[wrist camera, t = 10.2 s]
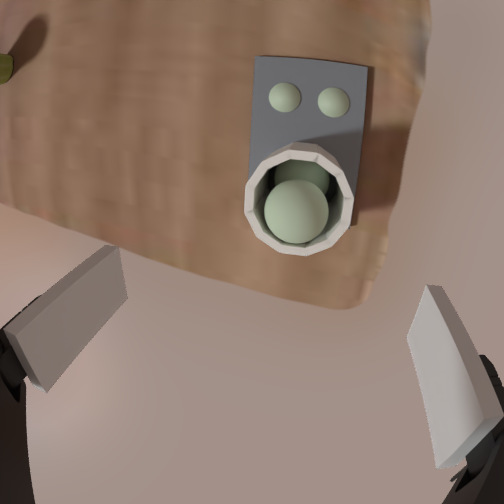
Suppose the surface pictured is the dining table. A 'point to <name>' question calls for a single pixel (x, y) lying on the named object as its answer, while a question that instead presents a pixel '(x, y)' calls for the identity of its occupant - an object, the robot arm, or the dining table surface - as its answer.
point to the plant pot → (5, 67)
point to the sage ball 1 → (303, 173)
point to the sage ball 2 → (296, 211)
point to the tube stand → (306, 138)
